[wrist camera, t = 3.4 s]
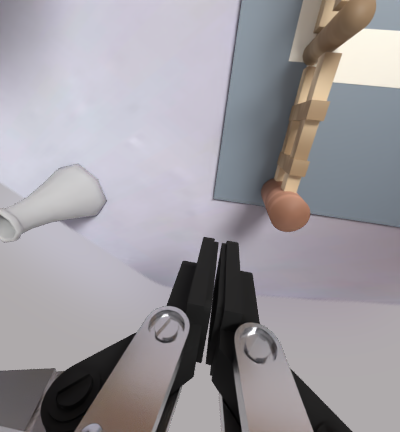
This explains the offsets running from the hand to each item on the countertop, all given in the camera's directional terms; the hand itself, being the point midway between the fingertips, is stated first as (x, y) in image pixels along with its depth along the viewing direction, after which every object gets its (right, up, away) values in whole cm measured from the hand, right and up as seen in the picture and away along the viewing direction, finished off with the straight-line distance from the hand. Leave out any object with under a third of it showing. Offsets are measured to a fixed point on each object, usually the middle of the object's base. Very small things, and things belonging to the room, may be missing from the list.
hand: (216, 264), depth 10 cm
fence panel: (+8, +9, +10) cm, 15 cm away
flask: (-17, +6, +16) cm, 24 cm away
